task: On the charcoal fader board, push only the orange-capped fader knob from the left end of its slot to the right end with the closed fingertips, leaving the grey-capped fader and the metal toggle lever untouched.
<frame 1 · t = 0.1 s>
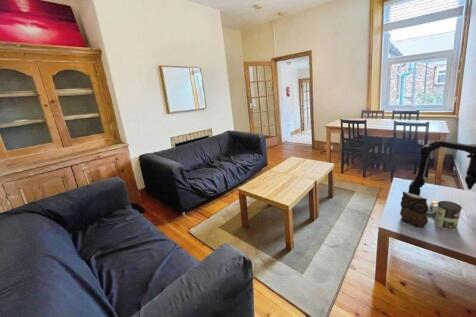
hand: (470, 186, 146), 15 cm above the table, fingers open, 9 cm apart
panel: (439, 213, 146), on the table
toggle lever: (436, 210, 143), point 5 cm above the table, hinge at 30.0°
fader orange: (434, 204, 149), point 4 cm above the table, slide at -3.4 cm
coffee can: (445, 225, 136), on the table
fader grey: (436, 208, 146), point 4 cm above the table, slide at -2.0 cm
owl: (414, 221, 142), on the table
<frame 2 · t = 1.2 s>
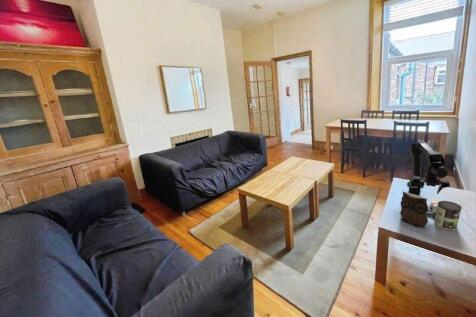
hand: (428, 192, 151), 11 cm above the table, fingers open, 9 cm apart
nothing on the table moved.
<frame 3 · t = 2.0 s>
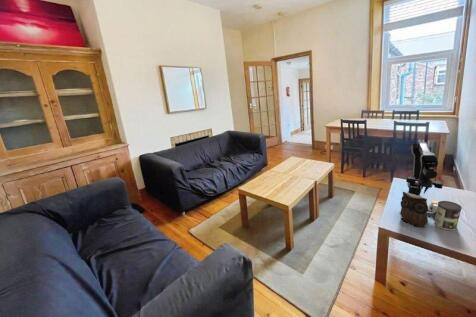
hand: (422, 193, 152), 11 cm above the table, fingers closed
nothing on the table moved.
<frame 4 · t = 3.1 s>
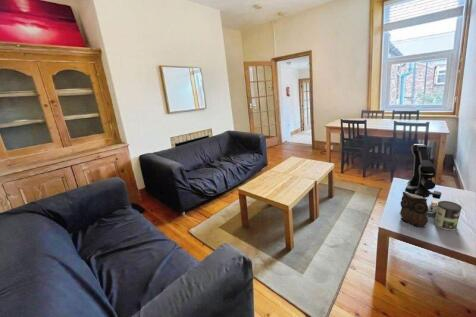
hand: (420, 202, 154), 4 cm above the table, fingers closed
nothing on the table moved.
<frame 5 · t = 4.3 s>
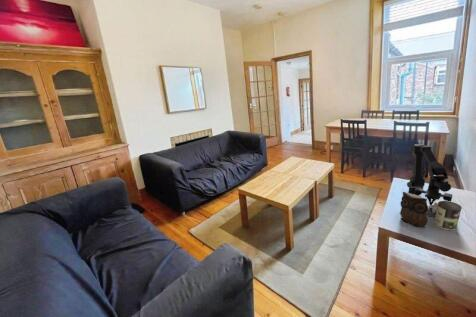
hand: (430, 205, 150), 4 cm above the table, fingers closed
fader orange: (437, 205, 148), point 4 cm above the table, slide at -1.9 cm, touching gripper
everything else where it was.
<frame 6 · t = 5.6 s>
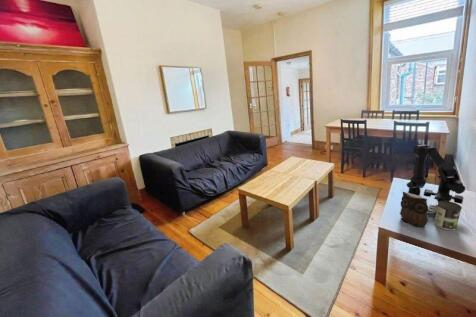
hand: (440, 207, 147), 4 cm above the table, fingers closed
fader orange: (447, 207, 144), point 4 cm above the table, slide at 3.1 cm, touching gripper
everything else where it was.
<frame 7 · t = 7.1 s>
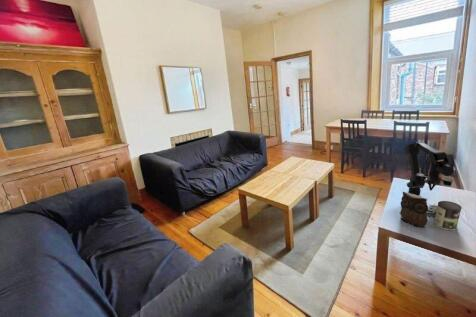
hand: (430, 190, 153), 12 cm above the table, fingers closed
fader orange: (447, 207, 144), point 4 cm above the table, slide at 3.1 cm
everything else where it was.
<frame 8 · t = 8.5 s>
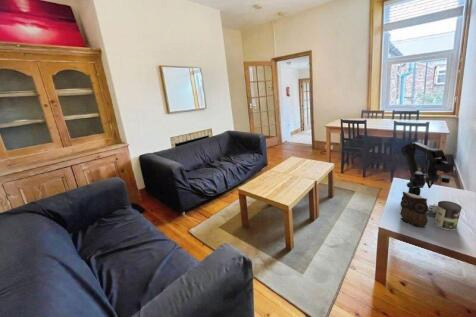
hand: (429, 188, 155), 12 cm above the table, fingers closed
nothing on the table moved.
at the end: fader orange slide at 3.1 cm; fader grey slide at -2.0 cm; toggle lever at +30° (first picture: +30°) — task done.
